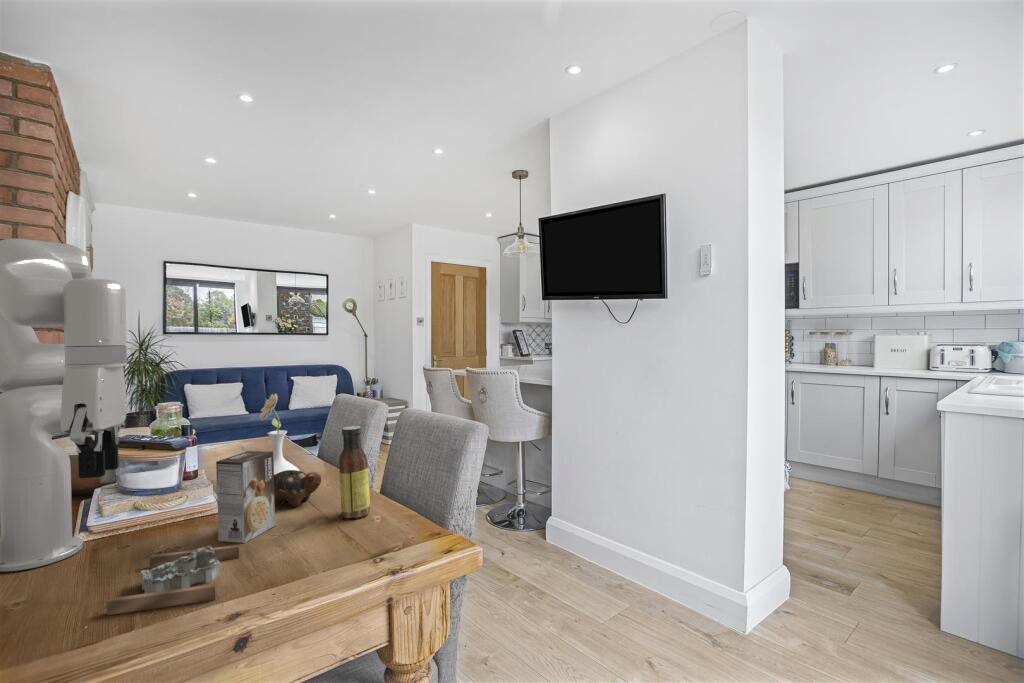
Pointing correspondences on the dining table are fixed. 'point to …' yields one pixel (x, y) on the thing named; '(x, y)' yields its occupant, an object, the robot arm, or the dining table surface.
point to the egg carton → (182, 572)
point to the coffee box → (245, 496)
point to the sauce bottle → (353, 475)
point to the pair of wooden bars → (171, 596)
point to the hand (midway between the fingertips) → (99, 472)
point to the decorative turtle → (294, 486)
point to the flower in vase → (276, 437)
